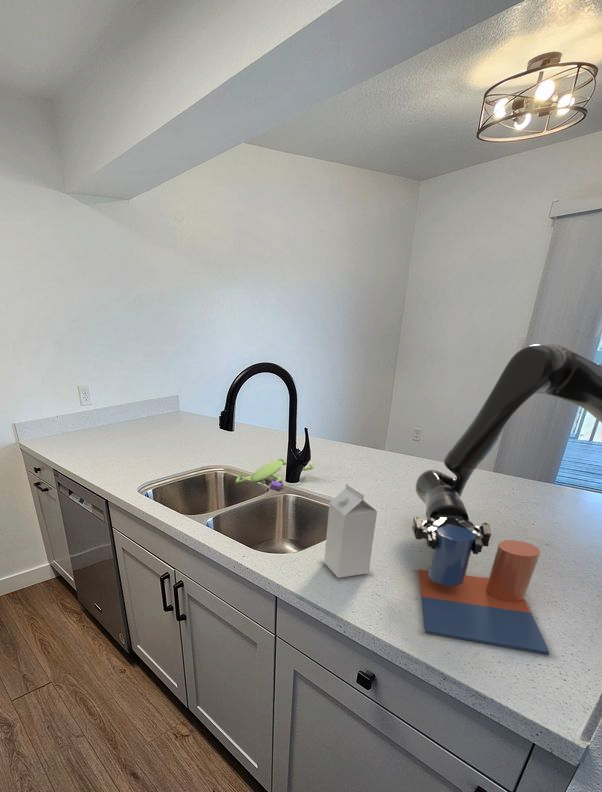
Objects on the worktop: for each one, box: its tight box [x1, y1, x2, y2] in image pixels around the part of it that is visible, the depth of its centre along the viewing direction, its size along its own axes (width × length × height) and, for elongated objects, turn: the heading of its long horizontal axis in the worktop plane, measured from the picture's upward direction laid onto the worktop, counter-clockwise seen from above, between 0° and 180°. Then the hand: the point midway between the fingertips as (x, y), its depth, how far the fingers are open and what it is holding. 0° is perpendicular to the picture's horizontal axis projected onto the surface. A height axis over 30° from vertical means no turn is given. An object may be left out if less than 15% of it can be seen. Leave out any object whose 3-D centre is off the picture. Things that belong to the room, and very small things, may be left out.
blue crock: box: [428, 526, 475, 586], centre depth 85 cm, size 6×6×10 cm
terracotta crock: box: [486, 539, 541, 602], centre depth 83 cm, size 6×6×10 cm
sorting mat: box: [418, 568, 550, 655], centre depth 82 cm, size 18×22×1 cm
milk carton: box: [323, 483, 378, 579], centre depth 93 cm, size 7×7×19 cm
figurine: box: [235, 458, 315, 491], centre depth 152 cm, size 18×27×6 cm
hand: (455, 547), depth 82 cm, fingers closed on blue crock, 6 cm apart
